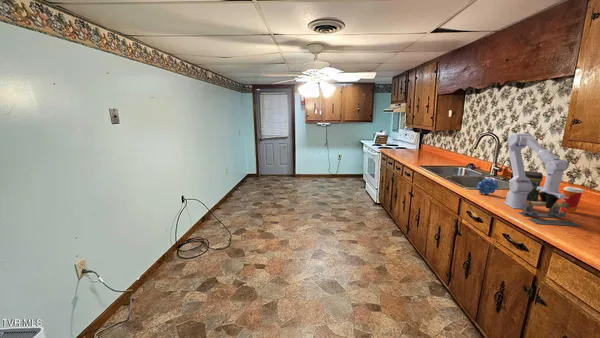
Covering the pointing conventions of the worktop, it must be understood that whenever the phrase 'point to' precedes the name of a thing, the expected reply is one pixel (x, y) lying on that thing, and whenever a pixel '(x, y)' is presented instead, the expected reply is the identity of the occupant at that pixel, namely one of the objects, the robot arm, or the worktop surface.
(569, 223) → the mat
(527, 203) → the tan wooden rod
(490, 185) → the grapes
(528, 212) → the hook standards
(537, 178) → the coffee jar
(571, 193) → the paper cup
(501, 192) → the worktop surface
